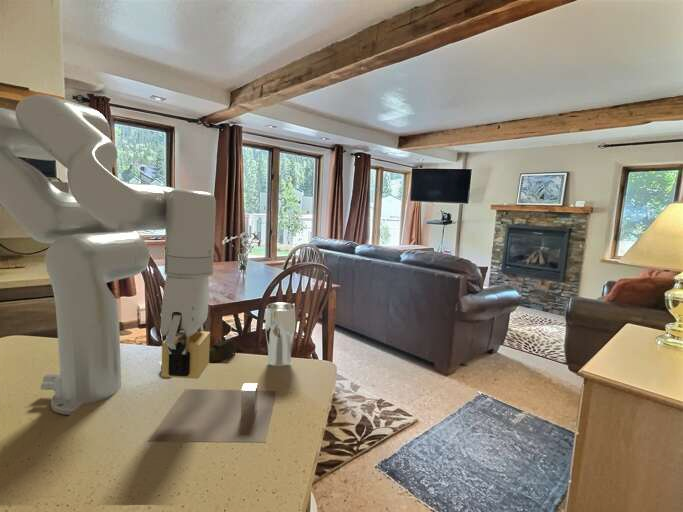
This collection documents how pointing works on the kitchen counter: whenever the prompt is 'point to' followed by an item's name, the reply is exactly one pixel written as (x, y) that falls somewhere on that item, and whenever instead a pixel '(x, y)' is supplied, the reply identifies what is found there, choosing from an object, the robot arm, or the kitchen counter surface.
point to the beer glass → (279, 333)
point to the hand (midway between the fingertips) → (186, 365)
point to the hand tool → (221, 351)
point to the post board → (218, 416)
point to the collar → (198, 354)
